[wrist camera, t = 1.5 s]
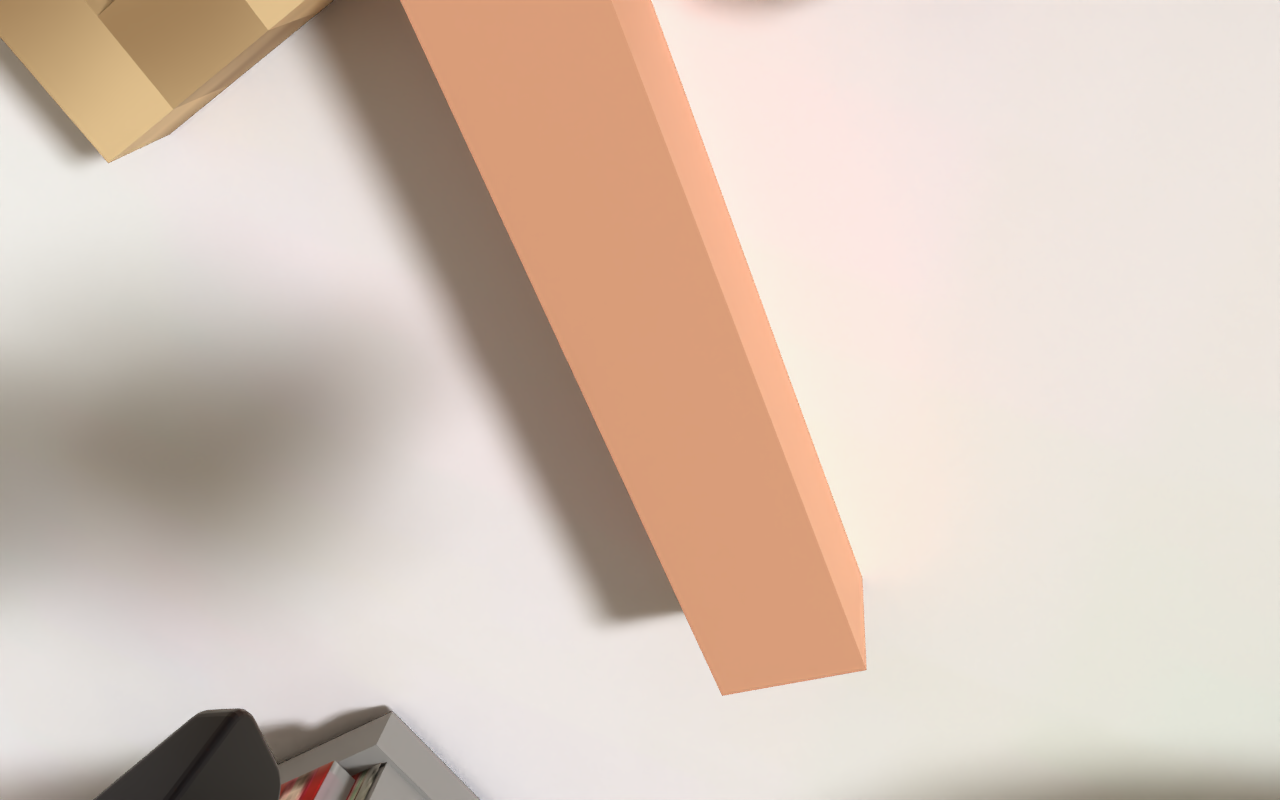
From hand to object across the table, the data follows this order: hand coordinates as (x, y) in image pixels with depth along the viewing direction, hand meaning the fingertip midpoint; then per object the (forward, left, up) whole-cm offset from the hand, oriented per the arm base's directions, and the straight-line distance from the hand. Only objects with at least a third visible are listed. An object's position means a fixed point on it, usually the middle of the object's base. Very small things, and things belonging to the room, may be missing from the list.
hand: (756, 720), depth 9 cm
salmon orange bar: (+1, +3, -13) cm, 13 cm away
